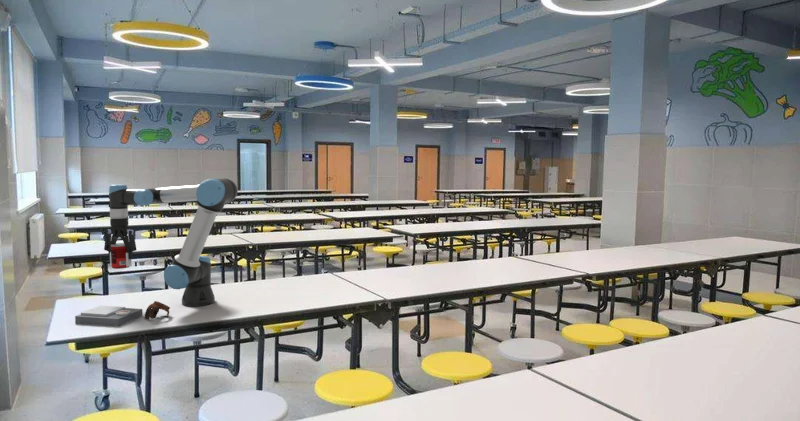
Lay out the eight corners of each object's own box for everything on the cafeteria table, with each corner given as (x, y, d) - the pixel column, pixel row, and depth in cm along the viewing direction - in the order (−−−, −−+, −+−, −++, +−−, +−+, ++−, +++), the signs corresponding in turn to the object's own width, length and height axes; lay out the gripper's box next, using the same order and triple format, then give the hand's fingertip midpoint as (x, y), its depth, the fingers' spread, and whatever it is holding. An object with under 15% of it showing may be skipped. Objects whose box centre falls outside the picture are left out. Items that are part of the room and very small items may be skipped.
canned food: (133, 265, 256) (132, 243, 255) (123, 269, 248) (122, 245, 247) (118, 265, 257) (117, 242, 256) (107, 268, 249) (107, 245, 248)
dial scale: (142, 315, 238) (142, 306, 238) (118, 326, 222) (118, 316, 222) (102, 312, 241) (101, 304, 241) (75, 323, 226) (75, 313, 225)
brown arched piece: (144, 316, 239) (154, 299, 241) (164, 325, 240) (174, 308, 242) (138, 317, 227) (148, 299, 229) (159, 326, 229) (169, 308, 231)
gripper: (144, 217, 253) (145, 265, 255) (105, 216, 256) (106, 263, 258) (133, 218, 245) (135, 268, 247) (93, 217, 248) (95, 266, 250)
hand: (120, 265), depth 252 cm, fingers closed on canned food, 8 cm apart
